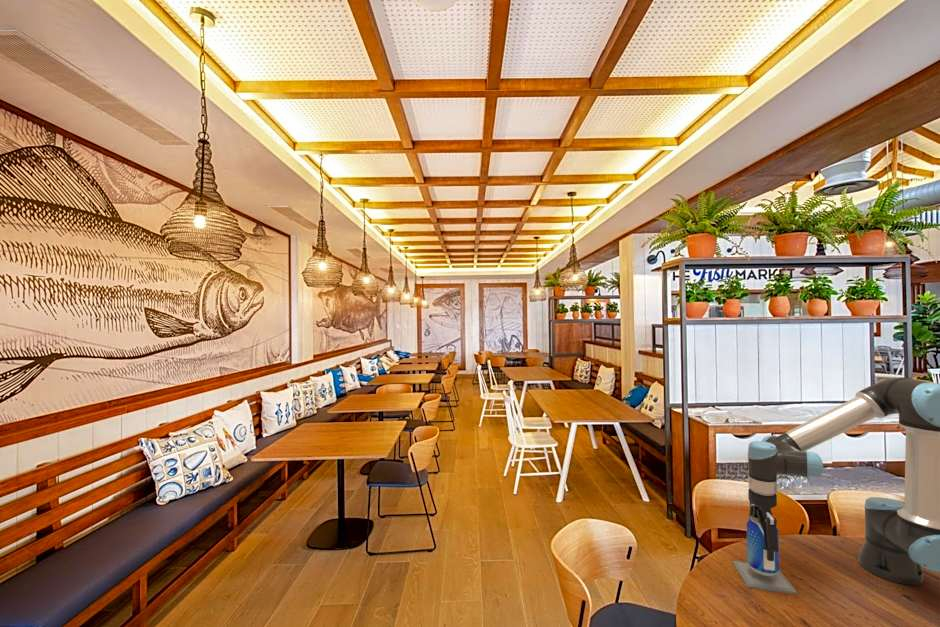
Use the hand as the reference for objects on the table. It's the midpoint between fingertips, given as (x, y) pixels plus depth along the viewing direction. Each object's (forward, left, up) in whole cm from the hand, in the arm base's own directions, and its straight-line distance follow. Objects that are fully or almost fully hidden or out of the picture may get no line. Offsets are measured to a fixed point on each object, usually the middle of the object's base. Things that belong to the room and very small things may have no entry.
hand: (762, 560), depth 133 cm
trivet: (0, 0, -6) cm, 6 cm away
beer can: (0, 0, -3) cm, 3 cm away
